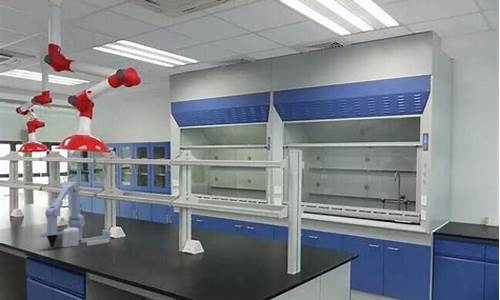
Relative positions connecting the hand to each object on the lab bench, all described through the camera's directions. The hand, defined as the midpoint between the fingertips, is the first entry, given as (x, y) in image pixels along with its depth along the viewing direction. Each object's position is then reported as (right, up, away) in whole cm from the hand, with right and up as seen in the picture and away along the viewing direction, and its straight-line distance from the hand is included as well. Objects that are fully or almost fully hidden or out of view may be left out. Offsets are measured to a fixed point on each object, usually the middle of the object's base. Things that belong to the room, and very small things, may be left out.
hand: (52, 246), depth 250 cm
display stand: (+20, -2, +19) cm, 28 cm away
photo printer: (+8, -2, +8) cm, 12 cm away
